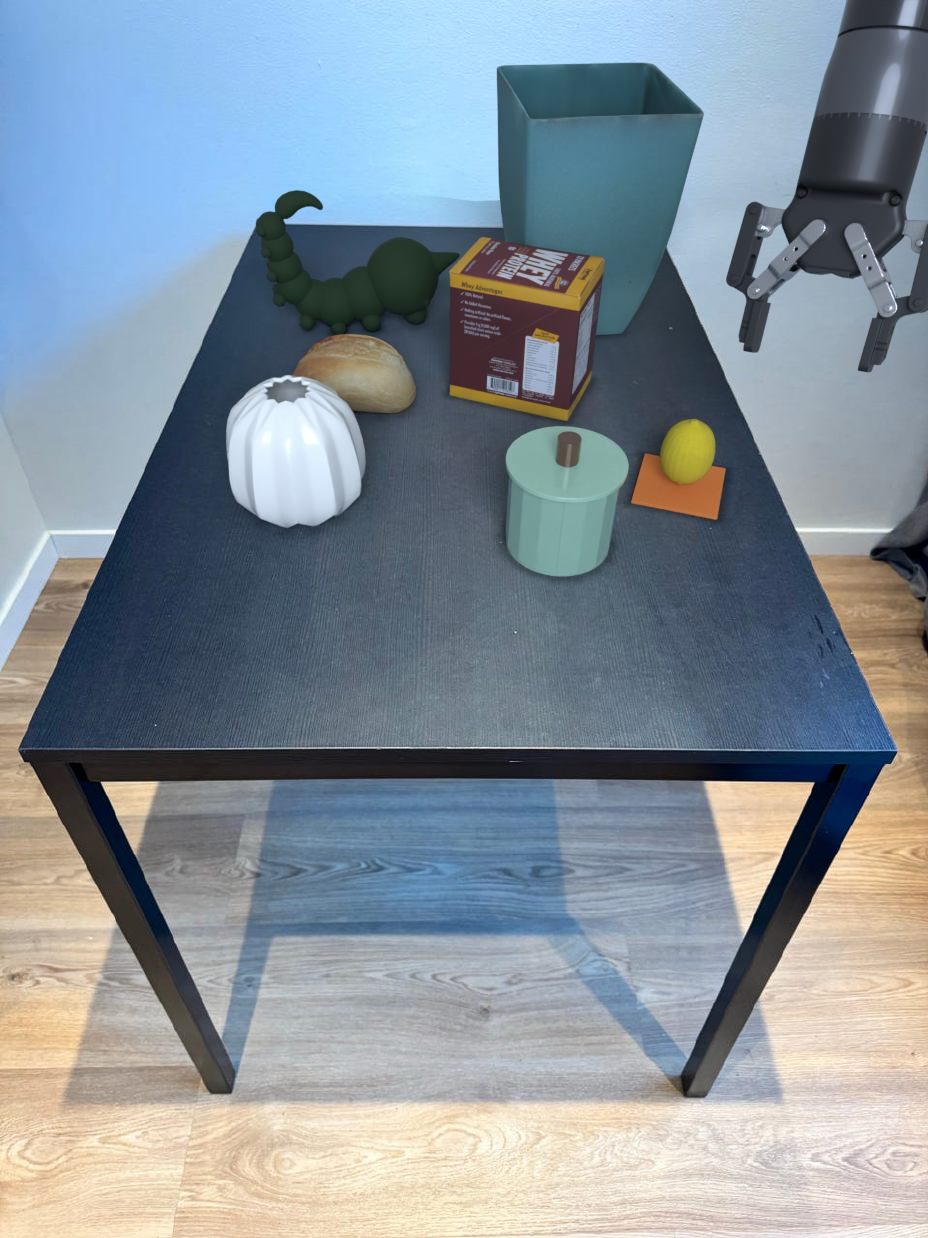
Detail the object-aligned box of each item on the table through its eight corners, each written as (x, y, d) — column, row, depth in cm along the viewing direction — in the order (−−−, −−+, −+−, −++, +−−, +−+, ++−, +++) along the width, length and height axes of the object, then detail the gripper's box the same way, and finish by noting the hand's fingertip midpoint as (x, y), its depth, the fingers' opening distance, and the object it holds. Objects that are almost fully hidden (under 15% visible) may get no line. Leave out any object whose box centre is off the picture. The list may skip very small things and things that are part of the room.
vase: (294, 563, 86) (275, 448, 76) (209, 501, 92) (182, 388, 82) (396, 500, 93) (390, 387, 83) (310, 447, 99) (296, 337, 90)
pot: (617, 520, 91) (631, 444, 84) (598, 586, 84) (611, 509, 77) (520, 501, 93) (526, 425, 86) (493, 563, 86) (497, 486, 79)
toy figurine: (284, 358, 116) (470, 330, 117) (248, 212, 102) (458, 182, 104) (283, 324, 122) (459, 298, 124) (248, 182, 109) (447, 155, 110)
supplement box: (476, 356, 114) (480, 234, 103) (591, 380, 110) (607, 256, 99) (446, 395, 107) (446, 270, 96) (567, 422, 103) (582, 295, 92)
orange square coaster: (725, 471, 97) (725, 468, 97) (716, 520, 91) (717, 517, 91) (644, 456, 99) (644, 453, 99) (630, 503, 93) (631, 500, 93)
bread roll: (295, 383, 109) (287, 323, 103) (416, 382, 109) (414, 322, 103) (288, 427, 102) (278, 365, 96) (416, 426, 102) (415, 364, 97)
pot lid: (636, 447, 85) (642, 415, 82) (615, 519, 77) (620, 486, 75) (522, 426, 87) (524, 394, 84) (490, 494, 79) (492, 461, 77)
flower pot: (662, 348, 116) (707, 110, 96) (513, 358, 114) (528, 117, 93) (620, 281, 130) (652, 60, 109) (487, 288, 127) (495, 65, 107)
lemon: (685, 463, 97) (700, 400, 92) (716, 491, 94) (734, 427, 88) (644, 476, 96) (656, 412, 90) (674, 504, 92) (689, 440, 86)
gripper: (753, 103, 61) (699, 346, 67) (981, 110, 54) (898, 380, 60) (781, 125, 67) (729, 346, 73) (989, 134, 60) (913, 376, 66)
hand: (806, 361), depth 66 cm, fingers open, 8 cm apart
